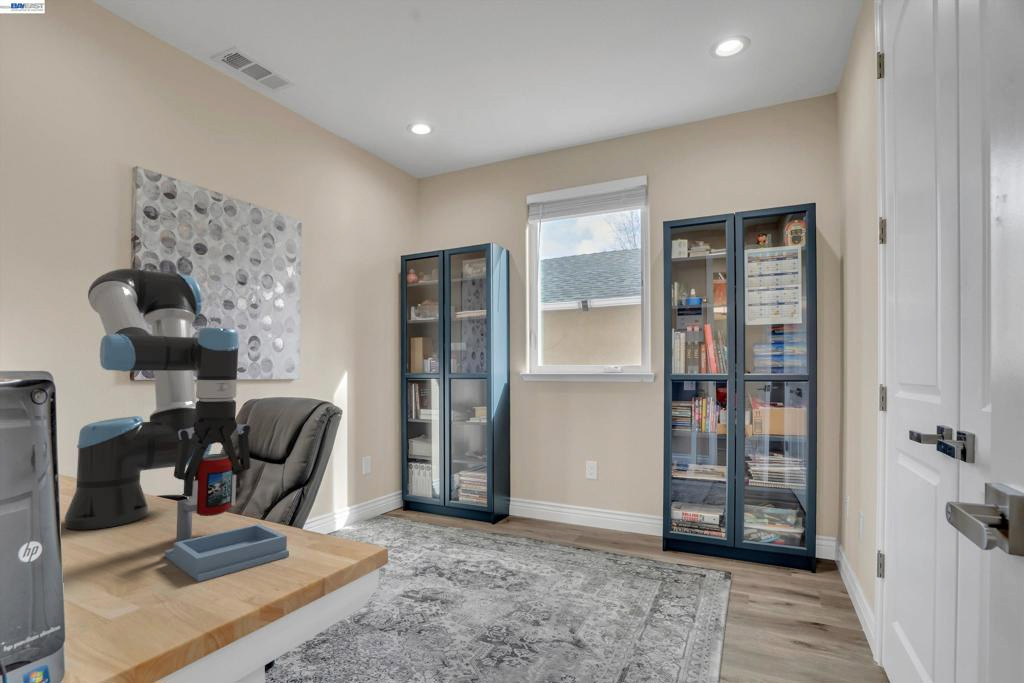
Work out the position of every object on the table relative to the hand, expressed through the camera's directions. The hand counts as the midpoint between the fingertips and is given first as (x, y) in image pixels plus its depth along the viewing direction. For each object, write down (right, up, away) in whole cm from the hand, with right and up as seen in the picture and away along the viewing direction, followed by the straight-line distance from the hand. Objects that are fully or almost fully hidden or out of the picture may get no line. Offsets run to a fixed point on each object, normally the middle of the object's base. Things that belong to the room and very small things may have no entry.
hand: (212, 507), depth 108 cm
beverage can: (0, -1, 0) cm, 1 cm away
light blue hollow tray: (+11, -5, -14) cm, 18 cm away
